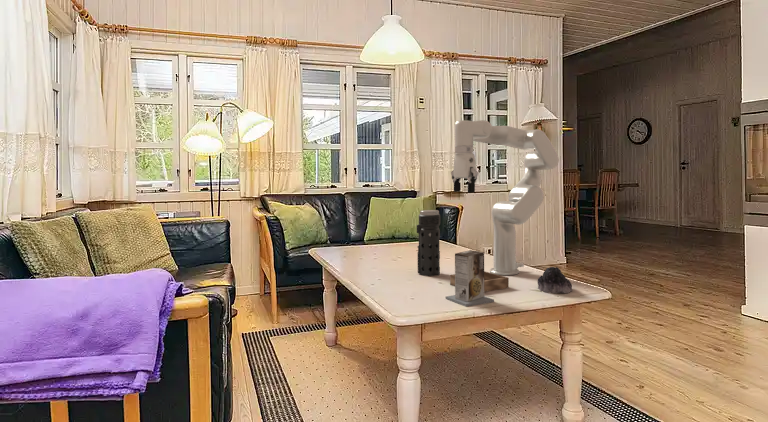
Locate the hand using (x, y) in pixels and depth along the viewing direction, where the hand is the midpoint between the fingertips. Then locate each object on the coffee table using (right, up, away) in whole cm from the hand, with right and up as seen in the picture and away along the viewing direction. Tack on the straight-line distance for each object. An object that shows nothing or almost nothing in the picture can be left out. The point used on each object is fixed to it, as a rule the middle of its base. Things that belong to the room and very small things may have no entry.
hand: (464, 192), depth 210 cm
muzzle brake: (-14, -36, +13) cm, 40 cm away
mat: (-3, -39, -33) cm, 51 cm away
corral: (+4, -37, -12) cm, 39 cm away
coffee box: (-3, -39, -33) cm, 51 cm away
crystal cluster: (+31, -38, -19) cm, 53 cm away
